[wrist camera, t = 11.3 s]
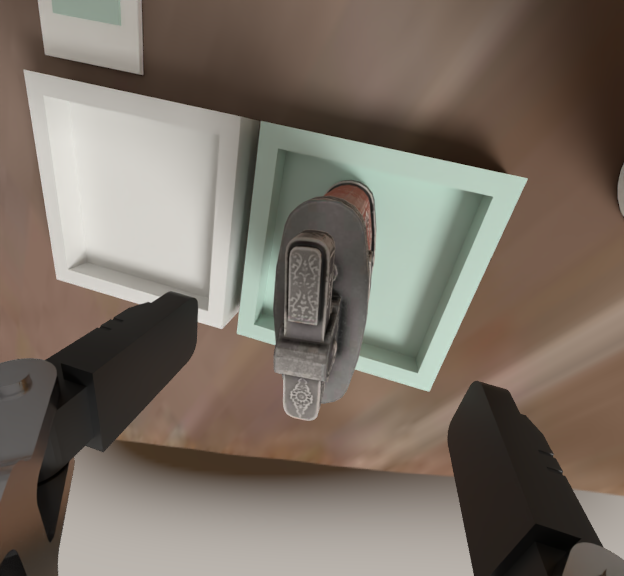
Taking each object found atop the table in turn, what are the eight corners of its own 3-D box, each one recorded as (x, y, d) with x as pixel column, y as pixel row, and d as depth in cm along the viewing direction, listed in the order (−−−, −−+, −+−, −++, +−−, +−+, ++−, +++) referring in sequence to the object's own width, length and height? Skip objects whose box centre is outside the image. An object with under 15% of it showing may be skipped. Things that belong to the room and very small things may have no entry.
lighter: (366, 321, 19) (347, 467, 10) (312, 313, 20) (249, 445, 11) (385, 181, 16) (379, 218, 7) (319, 177, 17) (238, 206, 8)
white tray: (67, 79, 19) (23, 69, 16) (260, 121, 17) (241, 116, 15) (88, 267, 24) (56, 279, 22) (238, 311, 22) (221, 329, 20)
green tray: (277, 124, 17) (260, 120, 15) (508, 174, 16) (527, 178, 14) (252, 315, 22) (236, 333, 20) (424, 365, 21) (429, 391, 19)
